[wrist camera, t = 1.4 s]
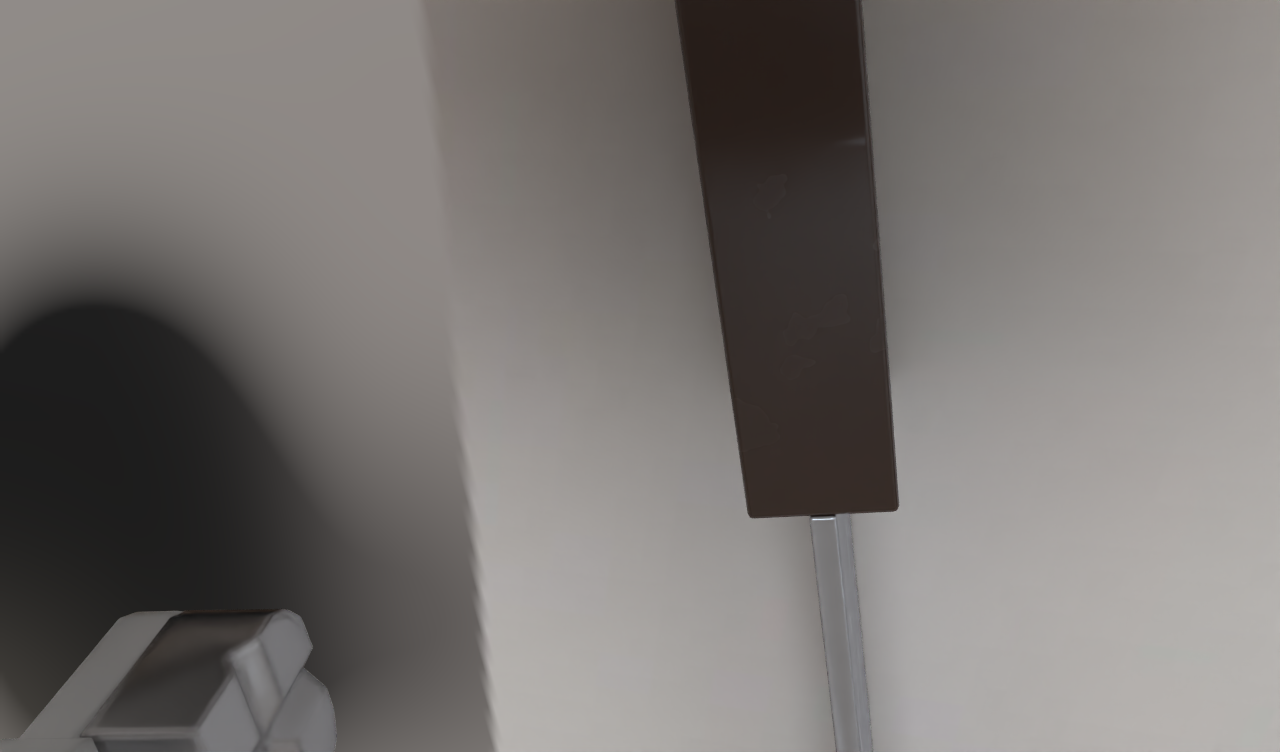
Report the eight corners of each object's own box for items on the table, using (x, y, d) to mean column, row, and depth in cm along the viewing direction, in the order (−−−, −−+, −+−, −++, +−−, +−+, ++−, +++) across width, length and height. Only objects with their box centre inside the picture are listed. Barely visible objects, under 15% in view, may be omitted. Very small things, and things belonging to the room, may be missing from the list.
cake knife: (701, -86, 18) (668, -37, 15) (853, -108, 18) (856, -64, 14) (824, 866, 27) (821, 1036, 24) (926, 866, 27) (938, 1041, 23)
